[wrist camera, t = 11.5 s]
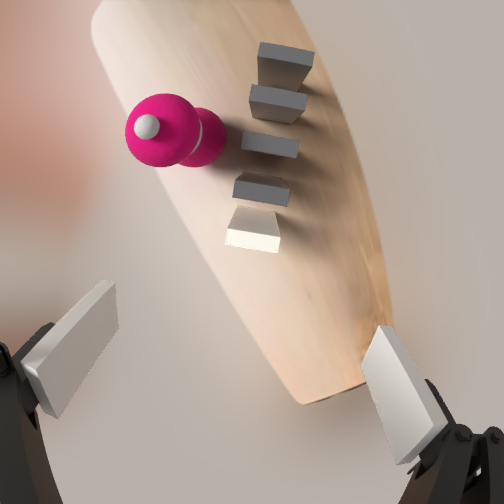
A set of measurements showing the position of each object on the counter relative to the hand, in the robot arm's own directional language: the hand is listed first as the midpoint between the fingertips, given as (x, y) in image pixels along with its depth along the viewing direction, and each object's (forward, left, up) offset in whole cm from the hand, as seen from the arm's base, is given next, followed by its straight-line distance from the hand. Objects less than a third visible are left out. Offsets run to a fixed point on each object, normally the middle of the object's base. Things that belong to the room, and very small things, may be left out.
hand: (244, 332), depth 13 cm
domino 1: (-18, +2, -27) cm, 32 cm away
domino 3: (-9, +1, -27) cm, 28 cm away
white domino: (0, 0, -27) cm, 27 cm away
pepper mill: (-10, -7, -27) cm, 29 cm away
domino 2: (-13, +2, -27) cm, 30 cm away
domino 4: (-4, +1, -27) cm, 27 cm away
